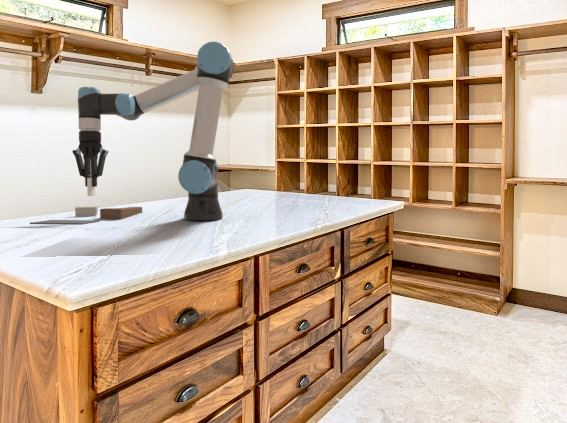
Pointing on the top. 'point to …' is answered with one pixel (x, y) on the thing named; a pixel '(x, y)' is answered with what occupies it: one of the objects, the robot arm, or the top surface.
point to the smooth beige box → (86, 211)
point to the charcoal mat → (65, 222)
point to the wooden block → (119, 212)
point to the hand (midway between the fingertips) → (91, 195)
